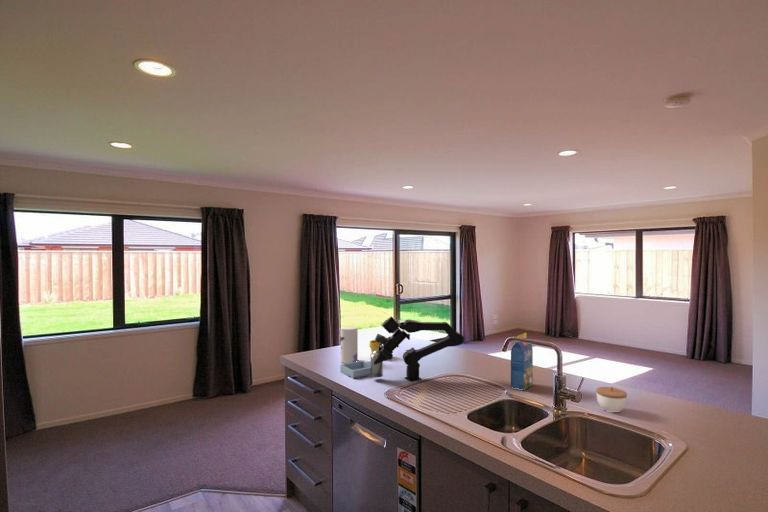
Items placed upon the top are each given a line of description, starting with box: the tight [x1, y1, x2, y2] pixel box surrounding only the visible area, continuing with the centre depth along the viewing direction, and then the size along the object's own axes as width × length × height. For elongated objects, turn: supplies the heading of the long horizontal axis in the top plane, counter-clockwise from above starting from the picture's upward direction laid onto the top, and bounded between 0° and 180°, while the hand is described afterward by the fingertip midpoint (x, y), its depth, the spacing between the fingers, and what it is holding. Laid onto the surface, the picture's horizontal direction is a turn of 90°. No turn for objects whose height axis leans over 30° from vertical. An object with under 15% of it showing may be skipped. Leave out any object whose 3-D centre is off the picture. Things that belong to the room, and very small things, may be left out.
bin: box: [339, 360, 371, 379], centre depth 208 cm, size 14×14×4 cm
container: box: [340, 325, 359, 364], centre depth 231 cm, size 10×10×20 cm
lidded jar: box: [595, 386, 628, 412], centre depth 158 cm, size 11×11×9 cm
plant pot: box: [369, 339, 381, 354], centre depth 239 cm, size 10×10×10 cm
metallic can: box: [370, 350, 384, 378], centre depth 196 cm, size 6×6×12 cm
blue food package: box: [510, 332, 534, 391], centre depth 186 cm, size 6×12×25 cm, turn 140°
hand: (373, 362), depth 196 cm, fingers closed on metallic can, 6 cm apart
